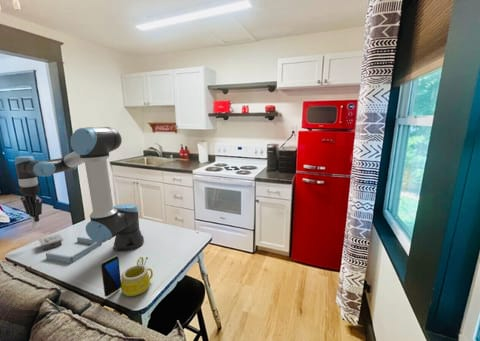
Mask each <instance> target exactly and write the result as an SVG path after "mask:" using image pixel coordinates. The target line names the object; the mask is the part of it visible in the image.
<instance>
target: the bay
mask: <svg viewBox="0 0 480 341" xmlns="http://www.w3.org/2000/svg"><path fill="white" fill-rule="evenodd" d="M76 241H77V243H81V244H88V245H89V244H90V245H89V246H87V247H84V248H83V249H81V250H79V251H78V252H75V254H73V255H71V256H70V255H64V254H58V253H53V252H48V251H47V252H45V257H46V260H51V261H57V262H61V263H62V262H63V263H67V264H73V263H75V262H77V261H78V260H80V259H82V258H83V257H85V256H86V255H88V254H90V253H91V252H93V251H94V250H95V249H97V248H99V247H100V246H102V244H103V243H98V242H95V241H93V240H92V239H91V238H90V237H85V236H84V237H83V236H82V237H81V236H77V237H76Z"/></svg>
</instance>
